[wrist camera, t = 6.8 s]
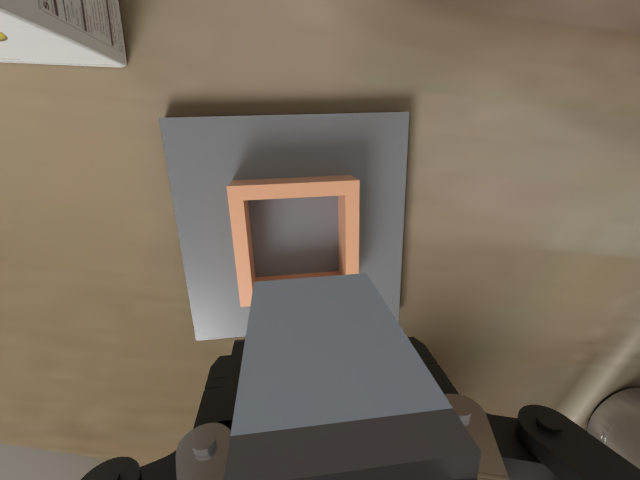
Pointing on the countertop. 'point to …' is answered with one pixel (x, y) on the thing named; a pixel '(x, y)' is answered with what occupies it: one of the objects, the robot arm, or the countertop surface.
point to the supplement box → (62, 32)
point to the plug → (339, 391)
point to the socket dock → (284, 205)
